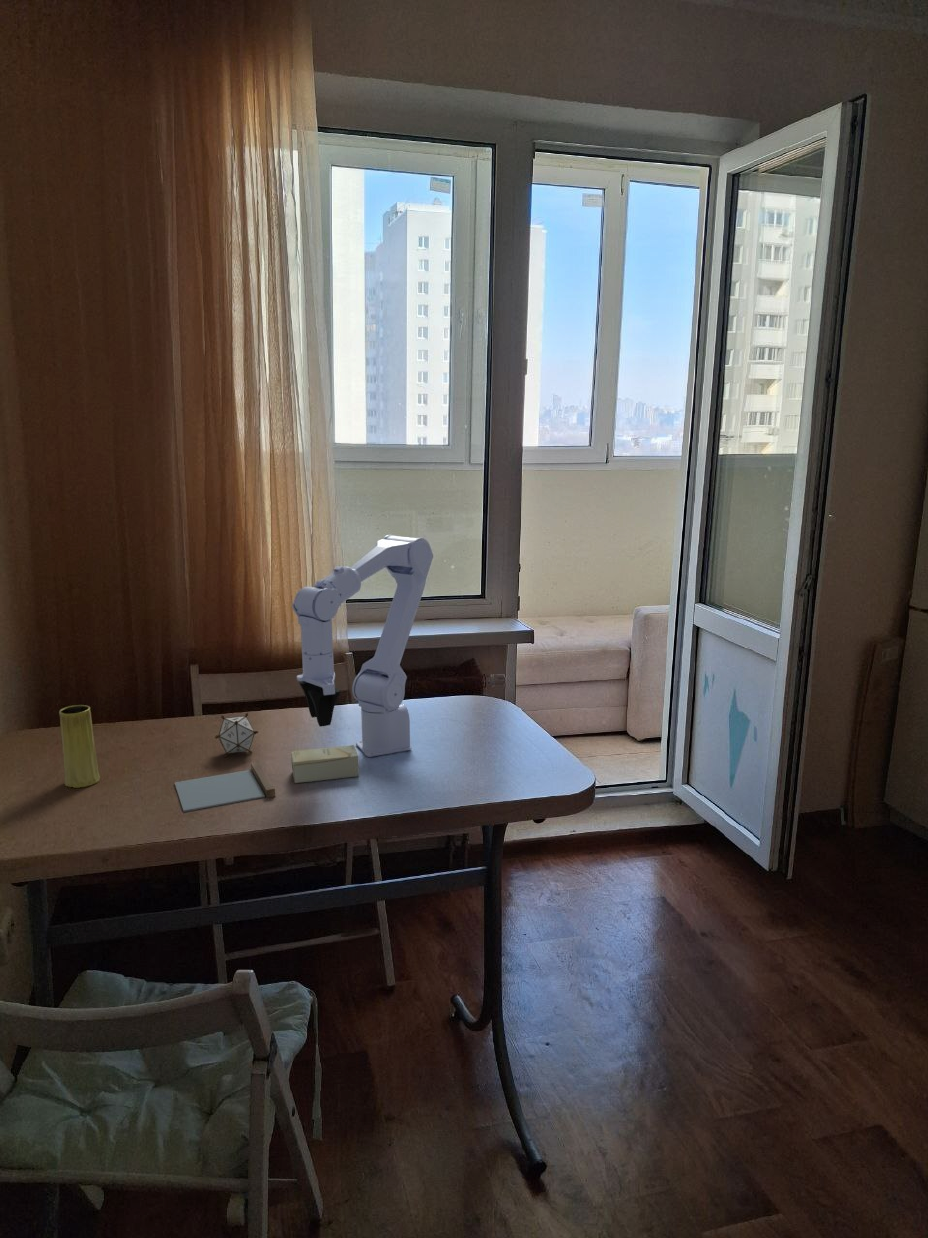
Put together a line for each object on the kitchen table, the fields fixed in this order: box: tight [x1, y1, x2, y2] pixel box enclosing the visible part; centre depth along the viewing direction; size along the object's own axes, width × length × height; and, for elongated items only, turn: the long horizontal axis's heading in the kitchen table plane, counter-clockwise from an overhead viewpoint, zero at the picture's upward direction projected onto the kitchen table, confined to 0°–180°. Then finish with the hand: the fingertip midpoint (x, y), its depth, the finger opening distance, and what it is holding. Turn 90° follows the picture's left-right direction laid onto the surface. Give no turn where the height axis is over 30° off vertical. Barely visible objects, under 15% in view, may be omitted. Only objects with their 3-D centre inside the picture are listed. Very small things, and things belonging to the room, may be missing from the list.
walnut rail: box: [250, 761, 276, 799], centre depth 161 cm, size 2×14×2 cm, turn 25°
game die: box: [214, 712, 259, 758], centre depth 175 cm, size 9×8×10 cm
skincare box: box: [290, 744, 360, 784], centre depth 165 cm, size 6×4×12 cm
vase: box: [58, 704, 101, 789], centre depth 161 cm, size 6×6×14 cm
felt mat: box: [174, 769, 266, 813], centre depth 158 cm, size 14×13×1 cm
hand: (320, 720), depth 164 cm, fingers open, 5 cm apart
